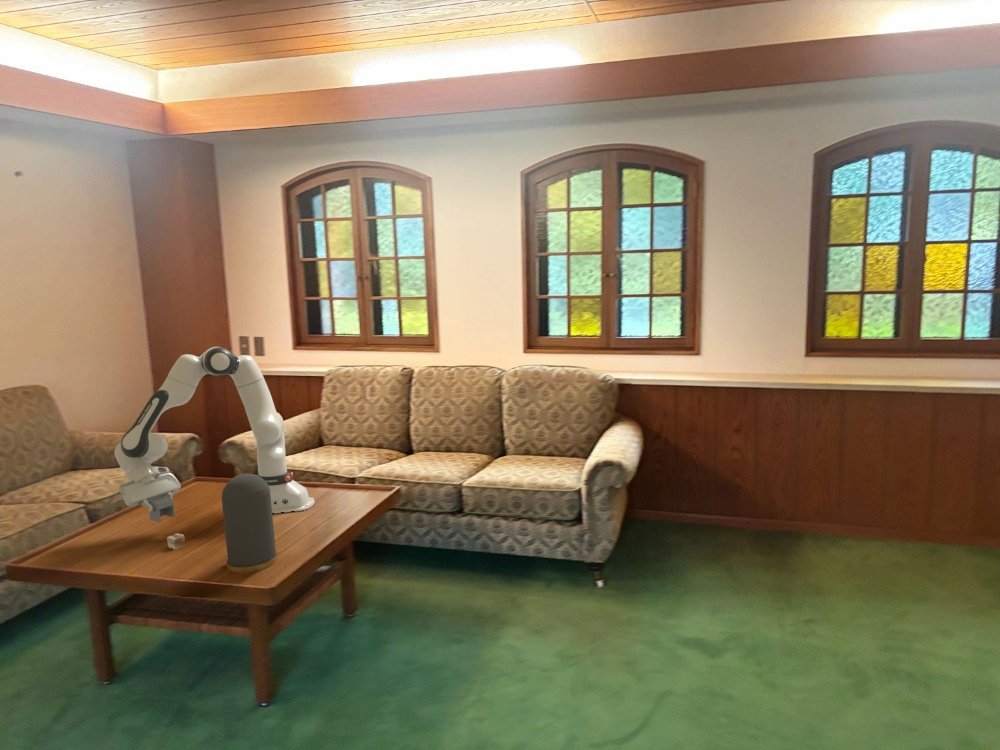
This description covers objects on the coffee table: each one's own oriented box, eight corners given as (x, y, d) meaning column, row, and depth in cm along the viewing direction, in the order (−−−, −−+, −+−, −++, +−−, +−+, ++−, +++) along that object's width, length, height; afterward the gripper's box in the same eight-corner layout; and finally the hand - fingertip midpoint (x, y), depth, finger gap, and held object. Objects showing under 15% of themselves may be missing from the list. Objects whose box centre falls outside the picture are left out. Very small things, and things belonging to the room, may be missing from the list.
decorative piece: (286, 553, 236) (278, 467, 232) (263, 573, 221) (254, 482, 216) (243, 552, 239) (234, 467, 234) (217, 571, 224) (208, 481, 219)
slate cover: (165, 514, 259) (163, 496, 258) (174, 517, 256) (172, 498, 255) (150, 519, 254) (148, 501, 253) (159, 522, 251) (157, 503, 250)
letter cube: (178, 543, 249) (177, 532, 248) (185, 545, 247) (184, 534, 246) (168, 547, 246) (167, 536, 245) (175, 549, 244) (174, 538, 243)
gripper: (119, 480, 248) (138, 511, 244) (171, 466, 265) (190, 494, 261) (113, 491, 251) (132, 521, 247) (165, 476, 268) (183, 504, 264)
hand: (162, 507), depth 254 cm, fingers closed on slate cover, 6 cm apart
